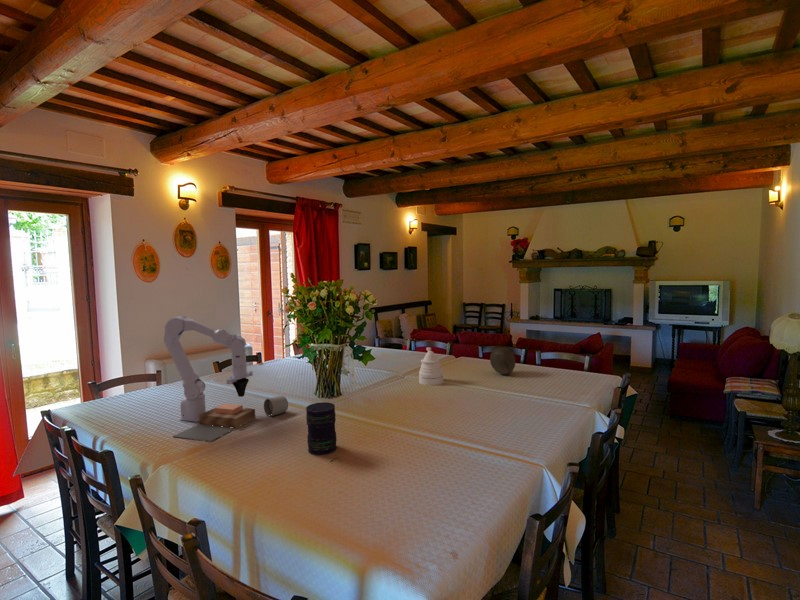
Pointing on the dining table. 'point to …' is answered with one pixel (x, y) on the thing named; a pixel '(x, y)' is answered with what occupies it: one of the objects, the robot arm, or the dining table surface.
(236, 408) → the salmon pink panel
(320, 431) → the storage jar
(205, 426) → the mat
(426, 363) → the honey pot
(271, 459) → the dining table surface
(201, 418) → the deck
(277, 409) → the grey cylinder
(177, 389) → the dining table surface
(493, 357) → the dark brown round vase
